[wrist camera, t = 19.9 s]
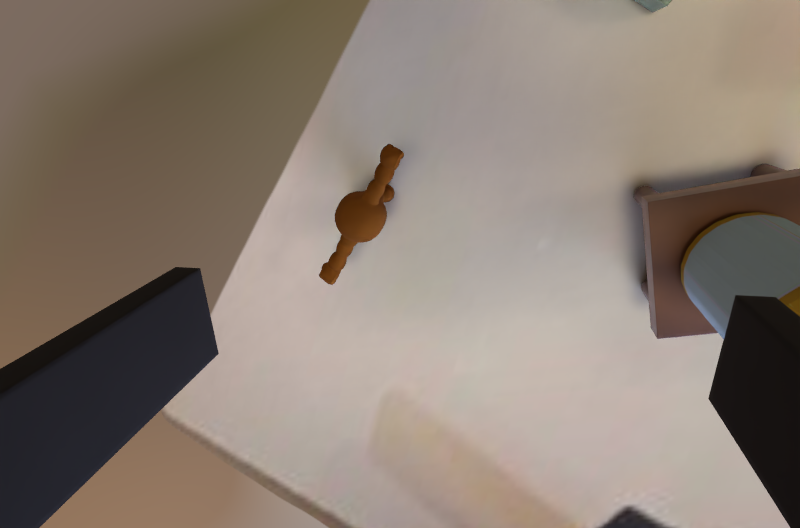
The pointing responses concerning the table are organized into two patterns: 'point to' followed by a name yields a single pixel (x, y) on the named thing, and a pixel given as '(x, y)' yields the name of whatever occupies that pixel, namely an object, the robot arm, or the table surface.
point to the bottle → (742, 264)
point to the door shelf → (654, 4)
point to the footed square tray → (684, 220)
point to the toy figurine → (362, 213)
